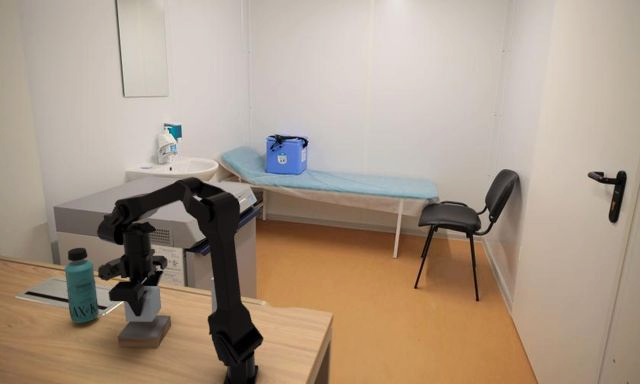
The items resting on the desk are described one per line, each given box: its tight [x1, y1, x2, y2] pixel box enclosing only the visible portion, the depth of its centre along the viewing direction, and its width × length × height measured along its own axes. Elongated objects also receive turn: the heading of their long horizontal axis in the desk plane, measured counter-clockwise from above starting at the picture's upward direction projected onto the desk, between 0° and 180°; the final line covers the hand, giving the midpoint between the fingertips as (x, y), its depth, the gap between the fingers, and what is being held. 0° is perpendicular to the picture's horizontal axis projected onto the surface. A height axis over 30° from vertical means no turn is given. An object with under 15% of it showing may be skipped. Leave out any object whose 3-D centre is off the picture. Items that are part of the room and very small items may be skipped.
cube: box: [123, 285, 162, 322], centre depth 95 cm, size 6×6×6 cm
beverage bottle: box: [64, 247, 100, 324], centre depth 101 cm, size 6×7×20 cm
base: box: [117, 314, 172, 349], centre depth 97 cm, size 9×9×3 cm
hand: (143, 308), depth 96 cm, fingers closed on cube, 6 cm apart
